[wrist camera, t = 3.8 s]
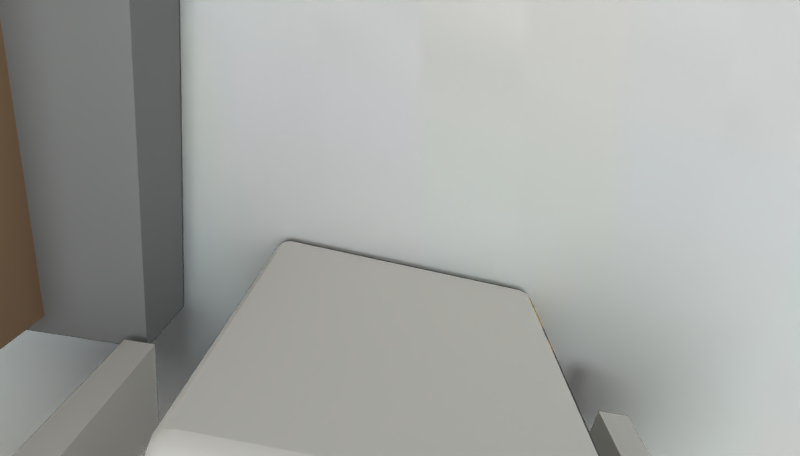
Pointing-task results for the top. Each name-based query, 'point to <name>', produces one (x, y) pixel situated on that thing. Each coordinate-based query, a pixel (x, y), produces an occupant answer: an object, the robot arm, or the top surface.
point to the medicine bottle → (374, 369)
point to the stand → (90, 168)
